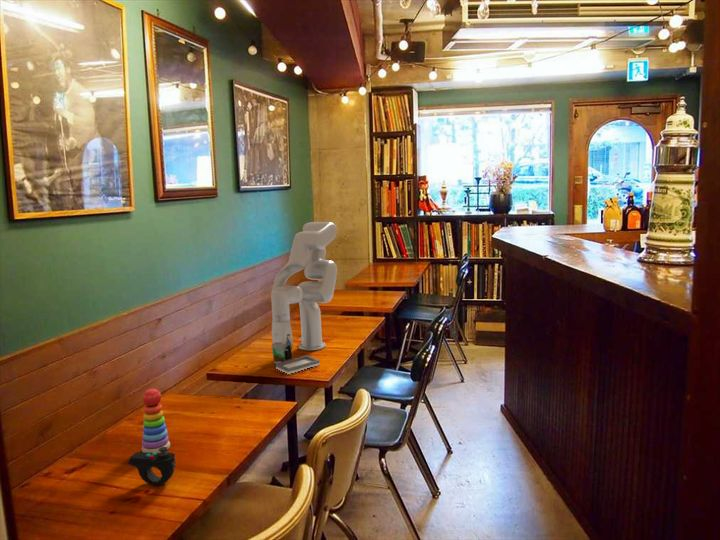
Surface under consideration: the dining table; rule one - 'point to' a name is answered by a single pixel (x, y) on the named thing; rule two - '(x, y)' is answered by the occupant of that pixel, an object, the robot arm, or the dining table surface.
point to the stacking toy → (153, 423)
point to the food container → (279, 352)
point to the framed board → (297, 364)
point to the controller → (154, 465)
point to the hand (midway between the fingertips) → (283, 356)
